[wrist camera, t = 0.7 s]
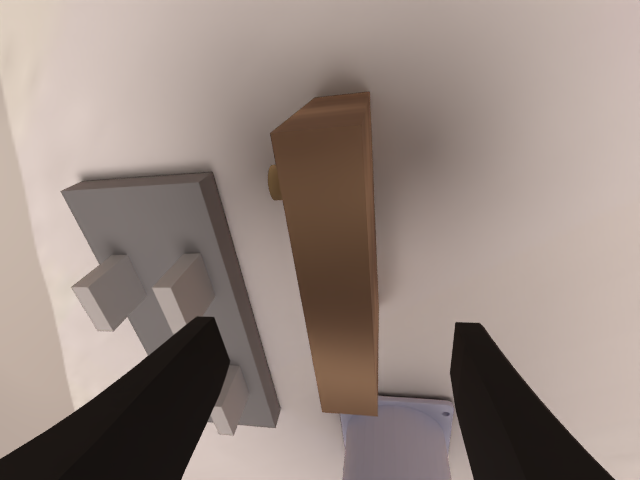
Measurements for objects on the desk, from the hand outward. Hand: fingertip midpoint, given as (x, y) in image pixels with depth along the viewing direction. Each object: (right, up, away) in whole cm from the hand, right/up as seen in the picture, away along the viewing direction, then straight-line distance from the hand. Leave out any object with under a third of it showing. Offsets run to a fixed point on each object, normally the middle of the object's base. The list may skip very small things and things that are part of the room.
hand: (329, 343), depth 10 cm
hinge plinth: (-9, -2, +13) cm, 16 cm away
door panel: (+1, +4, +7) cm, 9 cm away
